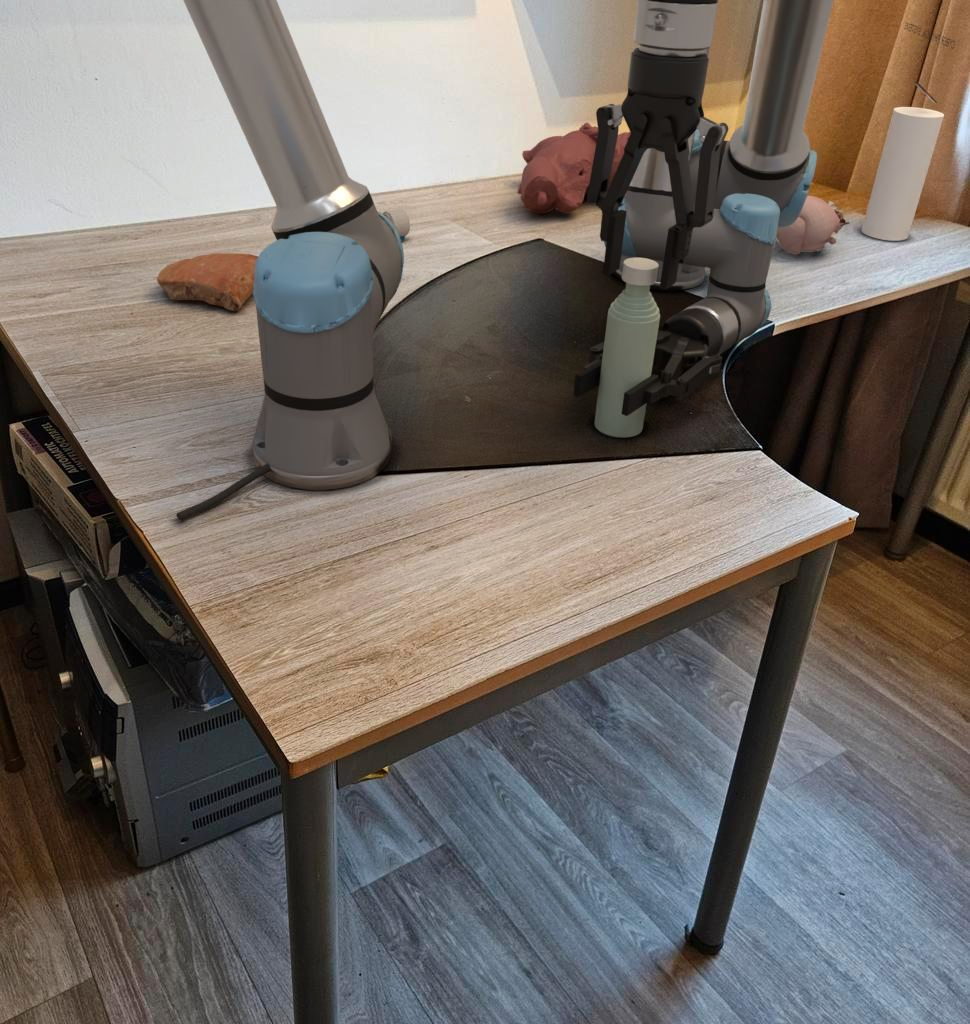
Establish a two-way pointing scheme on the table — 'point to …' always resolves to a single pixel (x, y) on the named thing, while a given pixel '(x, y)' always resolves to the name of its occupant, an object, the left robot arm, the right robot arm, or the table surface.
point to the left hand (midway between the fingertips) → (639, 277)
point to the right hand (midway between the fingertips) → (601, 395)
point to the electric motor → (399, 221)
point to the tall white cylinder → (902, 168)
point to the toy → (812, 227)
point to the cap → (639, 271)
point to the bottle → (626, 359)
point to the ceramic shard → (211, 279)
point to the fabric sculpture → (563, 170)
